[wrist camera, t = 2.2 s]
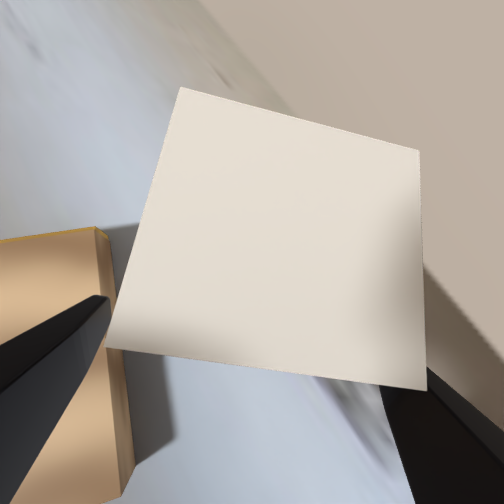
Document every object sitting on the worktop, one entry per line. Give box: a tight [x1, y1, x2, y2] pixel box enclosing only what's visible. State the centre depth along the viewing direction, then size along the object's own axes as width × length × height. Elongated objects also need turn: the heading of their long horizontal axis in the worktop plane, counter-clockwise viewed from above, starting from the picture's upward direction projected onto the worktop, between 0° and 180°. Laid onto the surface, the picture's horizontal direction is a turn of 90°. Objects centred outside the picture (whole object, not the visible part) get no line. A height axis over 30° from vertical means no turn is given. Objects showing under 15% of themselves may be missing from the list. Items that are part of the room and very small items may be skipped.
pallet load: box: [103, 87, 427, 391], centre depth 12 cm, size 6×6×13 cm
